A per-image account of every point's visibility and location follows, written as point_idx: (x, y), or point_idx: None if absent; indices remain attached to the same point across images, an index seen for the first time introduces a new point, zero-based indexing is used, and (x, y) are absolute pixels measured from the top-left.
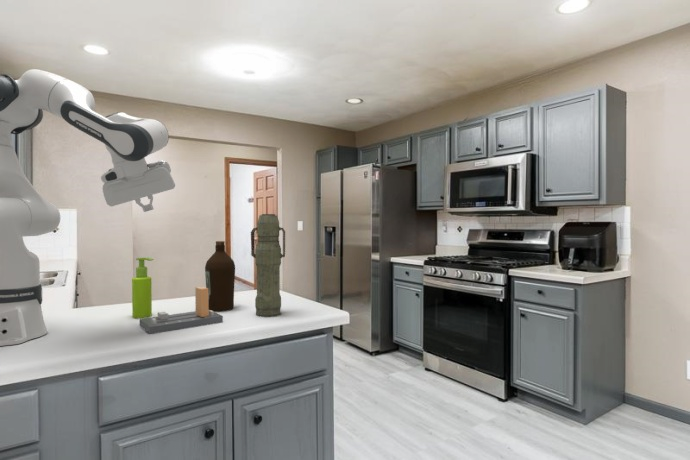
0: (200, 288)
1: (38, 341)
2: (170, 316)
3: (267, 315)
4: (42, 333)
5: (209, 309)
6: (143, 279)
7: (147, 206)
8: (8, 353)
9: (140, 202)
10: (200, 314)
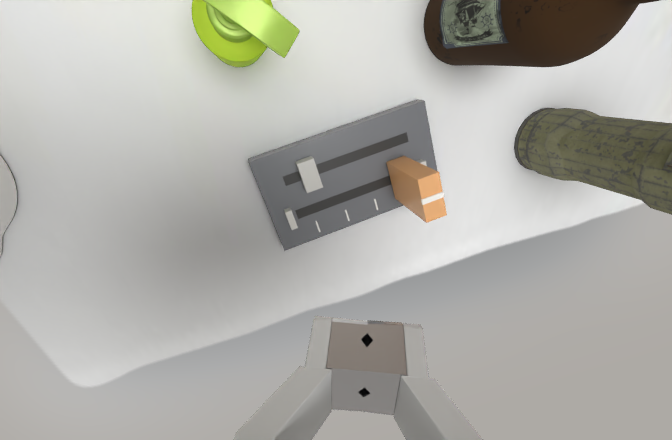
0: (427, 206)
1: (35, 243)
2: (325, 158)
3: (531, 169)
4: (12, 201)
5: (429, 43)
6: (247, 60)
7: (366, 402)
8: (21, 316)
9: (293, 419)
10: (396, 196)
